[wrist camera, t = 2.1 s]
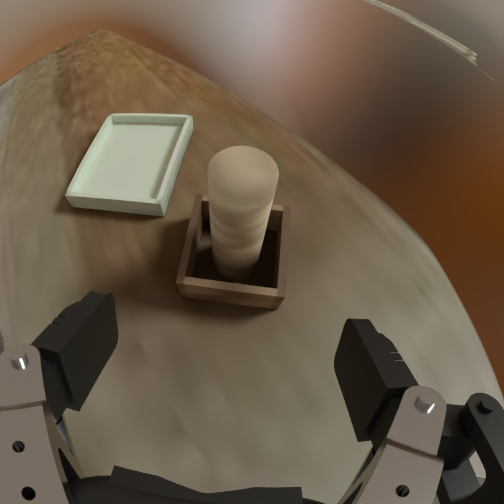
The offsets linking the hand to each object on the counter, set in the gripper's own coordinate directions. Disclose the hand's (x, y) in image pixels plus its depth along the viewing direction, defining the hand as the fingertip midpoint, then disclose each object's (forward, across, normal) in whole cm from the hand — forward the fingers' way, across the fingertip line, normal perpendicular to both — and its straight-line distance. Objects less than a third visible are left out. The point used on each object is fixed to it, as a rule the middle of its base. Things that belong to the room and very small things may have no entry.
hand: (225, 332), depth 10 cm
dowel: (+17, 0, +4) cm, 18 cm away
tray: (+24, +13, -4) cm, 28 cm away
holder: (+17, 0, +4) cm, 18 cm away
